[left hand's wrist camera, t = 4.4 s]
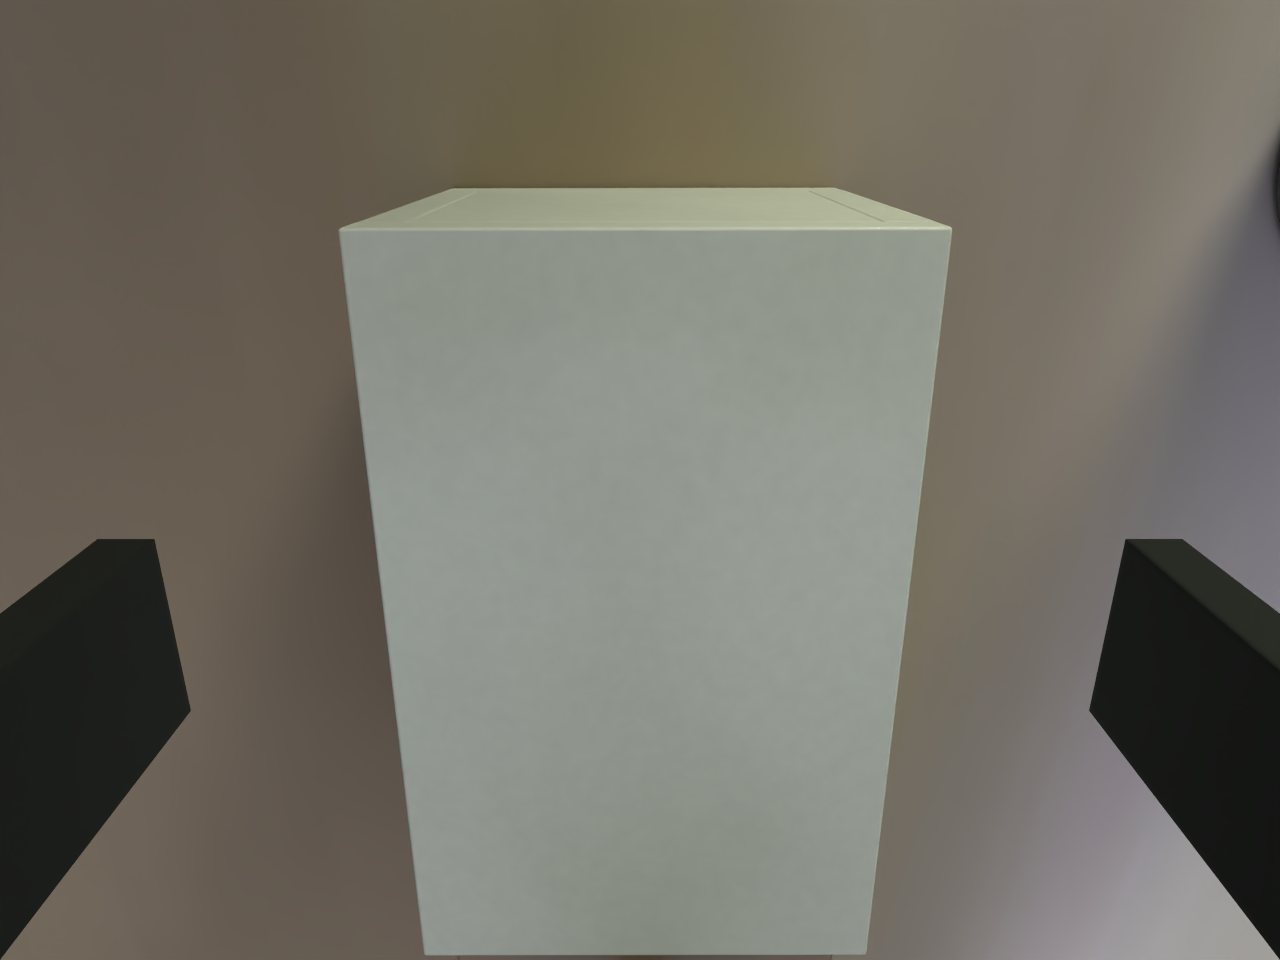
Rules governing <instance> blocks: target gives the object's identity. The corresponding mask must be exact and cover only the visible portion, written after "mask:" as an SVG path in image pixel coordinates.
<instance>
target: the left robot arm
mask: <svg viewBox="0 0 1280 960" xmlns="http://www.w3.org/2000/svg"><path fill="white" fill-rule="evenodd" d="M190 711H191V709H190V705H189V700H188V695H187V691H186V686H185V681H184V676H183V672H182V667H181V662H180V658H179V653H178V648H177V644H176V639H175V634H174V629H173V625H172V620H171V615H170V611H169V606H168V601H167V596H166V592H165V587H164V582H163V578H162V573H161V568H160V563H159V559H158V554H157V549H156V545H155V540H154V539H97V540H96V541H95V542H93V543H92V544H91V545H89V546H88V547H87V548H86V549H84V550H83V551H82V552H80V553H79V554H78V555H76V556H75V557H74V558H72V559H71V560H70V561H69V562H67V563H66V564H65V565H63V566H62V567H61V568H59V569H58V570H57V571H55V572H54V573H53V574H52V575H50V576H49V577H48V578H46V579H45V580H44V581H42V582H41V583H40V584H38V585H37V586H36V587H35V588H33V589H32V590H31V591H29V592H28V593H27V594H25V595H24V596H23V597H22V598H20V599H19V600H18V601H16V602H15V603H14V604H12V605H11V606H10V607H8V608H7V609H6V610H5V611H3V612H2V613H1V614H0V959H1V958H2V956H3V955H4V954H5V953H6V951H7V950H8V949H9V947H10V946H11V945H12V943H13V942H14V941H15V939H16V938H17V937H18V936H19V934H20V933H21V932H22V930H23V929H24V928H25V926H26V925H27V924H28V922H29V921H30V920H31V919H32V917H33V916H34V915H35V913H36V912H37V911H38V909H39V908H40V907H41V906H42V904H43V903H44V902H45V900H46V899H47V898H48V896H49V895H50V894H51V892H52V891H53V890H54V889H55V887H56V886H57V885H58V883H59V882H60V881H61V879H62V878H63V877H64V875H65V874H66V873H67V872H68V870H69V869H70V868H71V866H72V865H73V864H74V862H75V861H76V860H77V859H78V857H79V856H80V855H81V853H82V852H83V851H84V849H85V848H86V847H87V845H88V844H89V843H90V842H91V840H92V839H93V838H94V836H95V835H96V834H97V832H98V831H99V830H100V828H101V827H102V826H103V825H104V823H105V822H106V821H107V819H108V818H109V817H110V815H111V814H112V813H113V811H114V810H115V809H116V808H117V806H118V805H119V804H120V802H121V801H122V800H123V798H124V797H125V796H126V795H127V793H128V792H129V791H130V789H131V788H132V787H133V785H134V784H135V783H136V781H137V780H138V779H139V778H140V776H141V775H142V774H143V772H144V771H145V770H146V768H147V767H148V766H149V764H150V763H151V762H152V761H153V759H154V758H155V757H156V755H157V754H158V753H159V751H160V750H161V749H162V748H163V746H164V745H165V744H166V742H167V741H168V740H169V738H170V737H171V736H172V734H173V733H174V732H175V731H176V729H177V728H178V727H179V725H180V724H181V723H182V721H183V720H184V719H185V717H186V716H187V715H188V714H189V712H190ZM1089 711H1090V712H1091V714H1092V715H1093V716H1094V717H1095V719H1096V720H1097V721H1098V723H1099V724H1100V725H1101V727H1102V728H1103V729H1104V731H1105V732H1106V733H1107V734H1108V736H1109V737H1110V738H1111V740H1112V741H1113V742H1114V744H1115V745H1116V746H1117V748H1118V749H1119V750H1120V751H1121V753H1122V754H1123V755H1124V757H1125V758H1126V759H1127V761H1128V762H1129V763H1130V764H1131V766H1132V767H1133V768H1134V770H1135V771H1136V772H1137V774H1138V775H1139V776H1140V778H1141V779H1142V780H1143V781H1144V783H1145V784H1146V785H1147V787H1148V788H1149V789H1150V791H1151V792H1152V793H1153V795H1154V796H1155V797H1156V798H1157V800H1158V801H1159V802H1160V804H1161V805H1162V806H1163V808H1164V809H1165V810H1166V811H1167V813H1168V814H1169V815H1170V817H1171V818H1172V819H1173V821H1174V822H1175V823H1176V825H1177V826H1178V827H1179V828H1180V830H1181V831H1182V832H1183V834H1184V835H1185V836H1186V838H1187V839H1188V840H1189V842H1190V843H1191V844H1192V845H1193V847H1194V848H1195V849H1196V851H1197V852H1198V853H1199V855H1200V856H1201V857H1202V859H1203V860H1204V861H1205V862H1206V864H1207V865H1208V866H1209V868H1210V869H1211V870H1212V872H1213V873H1214V874H1215V875H1216V877H1217V878H1218V879H1219V881H1220V882H1221V883H1222V885H1223V886H1224V887H1225V889H1226V890H1227V891H1228V892H1229V894H1230V895H1231V896H1232V898H1233V899H1234V900H1235V902H1236V903H1237V904H1238V906H1239V907H1240V908H1241V909H1242V911H1243V912H1244V913H1245V915H1246V916H1247V917H1248V919H1249V920H1250V921H1251V922H1252V924H1253V925H1254V926H1255V928H1256V929H1257V930H1258V932H1259V933H1260V934H1261V936H1262V937H1263V938H1264V939H1265V941H1266V942H1267V943H1268V945H1269V946H1270V947H1271V949H1272V950H1273V951H1274V953H1275V954H1276V955H1277V956H1278V958H1279V959H1280V614H1279V613H1278V612H1277V611H1275V610H1274V609H1273V608H1272V607H1270V606H1269V605H1268V604H1266V603H1265V602H1264V601H1262V600H1261V599H1260V598H1258V597H1257V596H1256V595H1255V594H1253V593H1252V592H1251V591H1249V590H1248V589H1247V588H1245V587H1244V586H1243V585H1242V584H1240V583H1239V582H1238V581H1236V580H1235V579H1234V578H1232V577H1231V576H1230V575H1228V574H1227V573H1226V572H1225V571H1223V570H1222V569H1221V568H1219V567H1218V566H1217V565H1215V564H1214V563H1213V562H1211V561H1210V560H1209V559H1208V558H1206V557H1205V556H1204V555H1202V554H1201V553H1200V552H1198V551H1197V550H1196V549H1194V548H1193V547H1192V546H1191V545H1189V544H1188V543H1187V542H1185V541H1184V540H1183V539H1126V540H1125V545H1124V549H1123V554H1122V559H1121V563H1120V568H1119V573H1118V578H1117V582H1116V587H1115V592H1114V596H1113V601H1112V606H1111V611H1110V615H1109V620H1108V625H1107V629H1106V634H1105V639H1104V644H1103V648H1102V653H1101V658H1100V662H1099V667H1098V672H1097V676H1096V681H1095V686H1094V691H1093V695H1092V700H1091V705H1090V709H1089Z"/></svg>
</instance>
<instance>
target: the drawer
mask: <svg viewBox="0 0 1280 960" xmlns="http://www.w3.org/2000/svg"><path fill="white" fill-rule="evenodd" d="M458 960H832V955H458Z"/></svg>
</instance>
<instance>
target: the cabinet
mask: <svg viewBox="0 0 1280 960" xmlns="http://www.w3.org/2000/svg"><path fill="white" fill-rule="evenodd" d="M951 237H952V228H951V227H949V226H946V225H943V224H940V223H937V222H935V221H932V220H929V219H927V218H924V217H921V216H918V215H915V214H912V213H909V212H906V211H903V210H900V209H897V208H894V207H891V206H888V205H885V204H882V203H879V202H876V201H873V200H870V199H867V198H864V197H862V196H859V195H856V194H853V193H850V192H847V191H844V190H840V189H837V188H452V189H449V190H447V191H444V192H441V193H438V194H435V195H433V196H430V197H427V198H424V199H421V200H419V201H416V202H413V203H410V204H407V205H405V206H402V207H399V208H396V209H393V210H391V211H388V212H385V213H382V214H379V215H377V216H374V217H371V218H368V219H365V220H363V221H360V222H357V223H353V224H350V225H348V226H345V227H342V228H340V229H339V240H340V248H341V256H342V265H343V273H344V282H345V290H346V299H347V307H348V315H349V324H350V332H351V341H352V349H353V358H354V366H355V374H356V383H357V391H358V400H359V408H360V417H361V425H362V434H363V442H364V450H365V459H366V467H367V476H368V484H369V493H370V501H371V509H372V518H373V526H374V535H375V543H376V552H377V560H378V569H379V577H380V585H381V594H382V602H383V611H384V619H385V628H386V636H387V644H388V653H389V661H390V670H391V678H392V687H393V695H394V703H395V712H396V720H397V729H398V737H399V746H400V754H401V763H402V771H403V779H404V788H405V796H406V805H407V813H408V822H409V830H410V838H411V847H412V855H413V864H414V872H415V881H416V889H417V898H418V906H419V914H420V923H421V931H422V940H423V948H424V954H425V955H865V954H866V949H867V941H868V933H869V924H870V916H871V907H872V899H873V891H874V882H875V874H876V866H877V857H878V849H879V840H880V832H881V824H882V815H883V807H884V799H885V790H886V782H887V773H888V765H889V757H890V748H891V740H892V732H893V723H894V715H895V706H896V698H897V690H898V681H899V673H900V665H901V656H902V648H903V639H904V631H905V623H906V614H907V606H908V598H909V589H910V581H911V572H912V564H913V556H914V547H915V539H916V531H917V522H918V514H919V505H920V497H921V489H922V480H923V472H924V464H925V455H926V447H927V438H928V430H929V422H930V413H931V405H932V396H933V388H934V380H935V371H936V363H937V355H938V346H939V338H940V329H941V321H942V313H943V304H944V296H945V288H946V279H947V271H948V262H949V254H950V246H951Z"/></svg>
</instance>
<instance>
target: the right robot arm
mask: <svg viewBox="0 0 1280 960" xmlns="http://www.w3.org/2000/svg"><path fill="white" fill-rule="evenodd" d="M1277 205H1278V213H1279V220H1280V165H1279V171H1278V183H1277Z"/></svg>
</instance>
